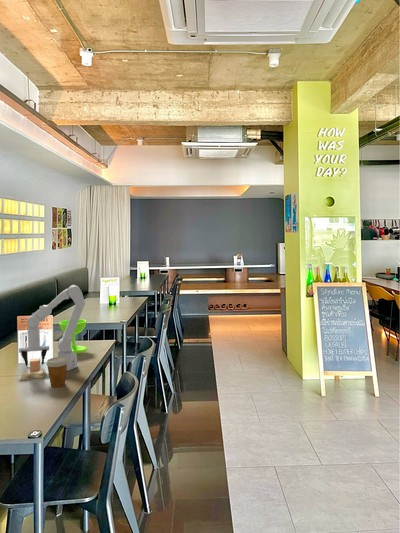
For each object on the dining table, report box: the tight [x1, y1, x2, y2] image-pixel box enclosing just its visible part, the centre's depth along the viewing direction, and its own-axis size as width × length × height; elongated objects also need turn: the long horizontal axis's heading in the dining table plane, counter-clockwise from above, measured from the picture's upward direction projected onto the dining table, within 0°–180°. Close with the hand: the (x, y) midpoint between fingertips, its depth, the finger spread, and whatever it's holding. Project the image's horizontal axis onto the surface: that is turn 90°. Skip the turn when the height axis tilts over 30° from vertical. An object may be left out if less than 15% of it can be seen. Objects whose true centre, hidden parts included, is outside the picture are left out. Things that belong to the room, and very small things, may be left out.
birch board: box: [20, 370, 45, 381], centre depth 201 cm, size 10×7×2 cm
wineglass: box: [58, 318, 88, 354], centre depth 248 cm, size 16×16×18 cm
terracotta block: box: [29, 357, 41, 372], centre depth 210 cm, size 4×4×6 cm
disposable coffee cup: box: [45, 356, 68, 388], centre depth 188 cm, size 10×10×12 cm
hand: (34, 364), depth 209 cm, fingers open, 7 cm apart
